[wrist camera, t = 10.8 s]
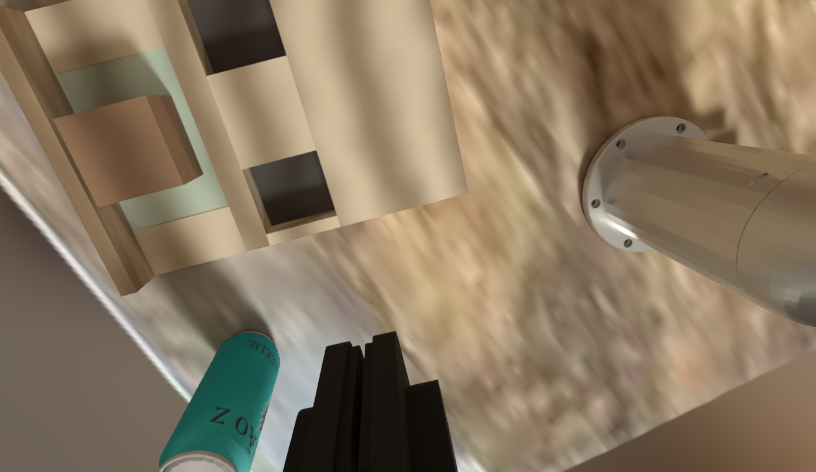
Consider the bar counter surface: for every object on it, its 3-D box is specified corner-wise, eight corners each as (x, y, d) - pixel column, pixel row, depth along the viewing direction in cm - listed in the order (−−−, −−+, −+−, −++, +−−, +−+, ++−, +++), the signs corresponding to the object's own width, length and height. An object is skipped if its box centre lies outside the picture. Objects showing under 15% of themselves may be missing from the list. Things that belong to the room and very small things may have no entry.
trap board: (408, -73, 32) (417, -105, 26) (461, 186, 38) (477, 201, 33) (33, 22, 31) (-33, 8, 26) (154, 268, 38) (121, 296, 32)
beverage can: (259, 386, 43) (209, 532, 28) (209, 355, 41) (129, 494, 27) (295, 346, 42) (262, 478, 27) (245, 313, 40) (183, 435, 26)
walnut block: (171, 95, 31) (145, 95, 27) (203, 174, 33) (183, 185, 29) (90, 115, 31) (52, 119, 27) (127, 194, 33) (97, 207, 29)
